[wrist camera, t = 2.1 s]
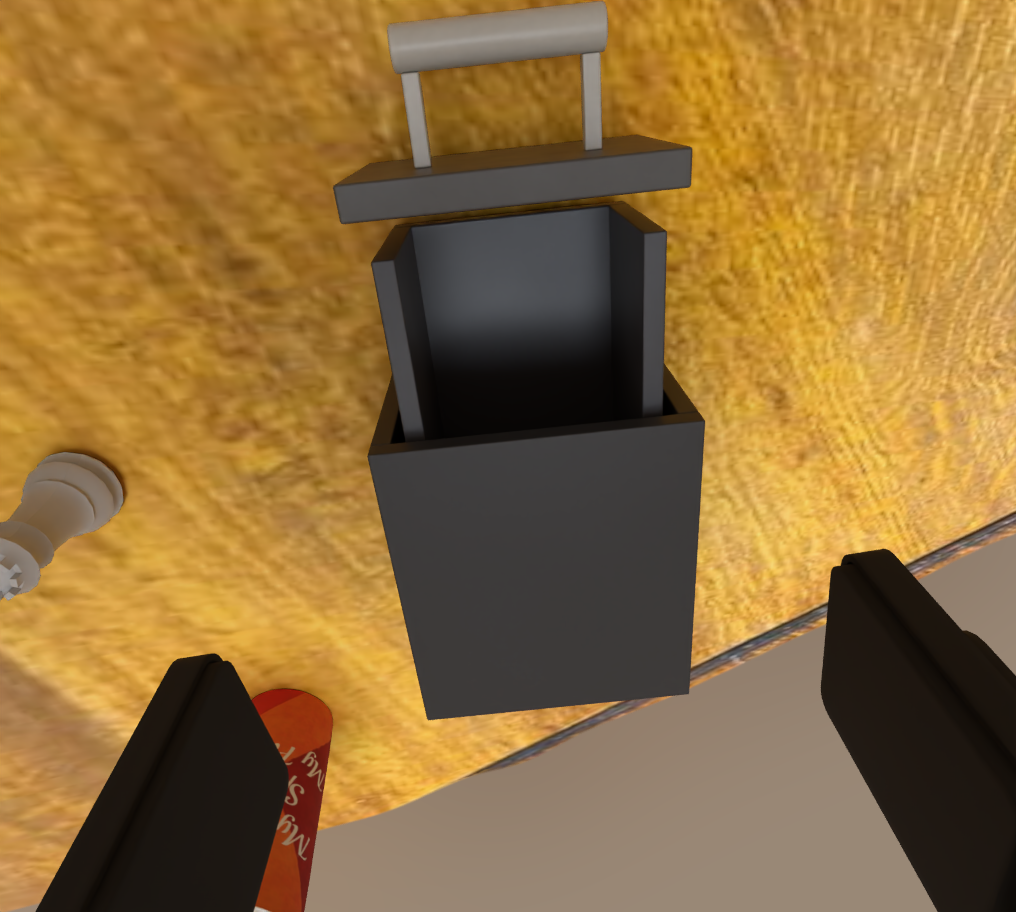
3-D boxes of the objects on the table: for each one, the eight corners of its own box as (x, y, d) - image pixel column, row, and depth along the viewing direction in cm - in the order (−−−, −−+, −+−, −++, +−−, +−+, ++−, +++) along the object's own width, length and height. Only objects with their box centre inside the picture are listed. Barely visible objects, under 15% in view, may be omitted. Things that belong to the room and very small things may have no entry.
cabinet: (394, 363, 33) (366, 455, 24) (646, 337, 32) (705, 420, 24) (437, 588, 40) (427, 720, 31) (643, 567, 39) (689, 694, 31)
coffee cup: (357, 685, 43) (305, 941, 30) (342, 764, 47) (290, 1022, 34) (226, 667, 42) (112, 927, 29) (222, 750, 46) (119, 1013, 33)
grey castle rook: (41, 436, 34) (-74, 525, 27) (132, 462, 35) (44, 554, 28) (37, 505, 36) (-71, 605, 29) (123, 527, 36) (39, 629, 29)
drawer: (345, 42, 25) (297, 22, 18) (639, 10, 25) (700, -22, 18) (419, 445, 34) (405, 534, 27) (637, 423, 34) (679, 505, 27)
